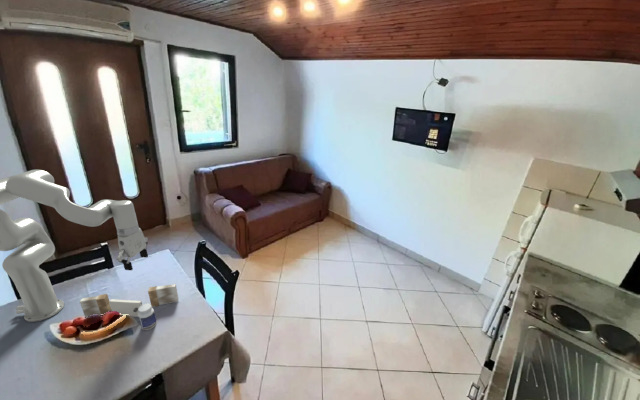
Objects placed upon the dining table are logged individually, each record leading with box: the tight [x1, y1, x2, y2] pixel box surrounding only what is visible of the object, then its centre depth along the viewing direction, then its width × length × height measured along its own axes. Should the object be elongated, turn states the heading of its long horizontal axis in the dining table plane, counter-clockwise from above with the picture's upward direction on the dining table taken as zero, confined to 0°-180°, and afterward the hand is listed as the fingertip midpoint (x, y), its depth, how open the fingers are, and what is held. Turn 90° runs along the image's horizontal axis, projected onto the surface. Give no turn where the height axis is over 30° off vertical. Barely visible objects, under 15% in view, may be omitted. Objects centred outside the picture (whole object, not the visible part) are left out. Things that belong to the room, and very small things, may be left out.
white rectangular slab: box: [109, 298, 143, 318], centre depth 116 cm, size 14×2×8 cm, turn 89°
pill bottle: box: [137, 303, 157, 331], centre depth 112 cm, size 6×6×10 cm
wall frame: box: [79, 283, 179, 318], centre depth 121 cm, size 36×3×9 cm, turn 109°
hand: (137, 263), depth 117 cm, fingers open, 9 cm apart
